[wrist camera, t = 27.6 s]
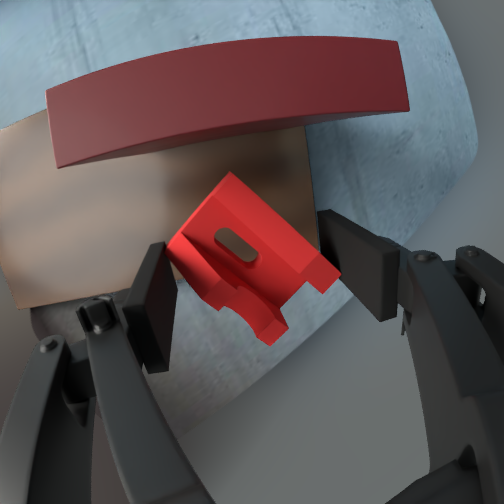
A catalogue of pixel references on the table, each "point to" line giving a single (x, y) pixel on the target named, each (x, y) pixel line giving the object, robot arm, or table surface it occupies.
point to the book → (222, 94)
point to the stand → (129, 206)
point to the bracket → (241, 272)
